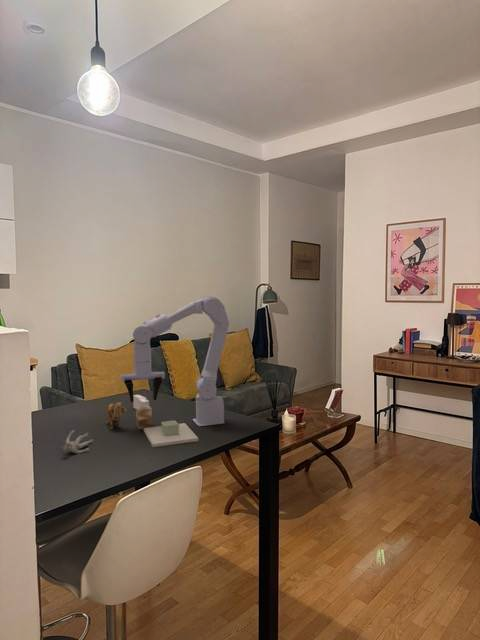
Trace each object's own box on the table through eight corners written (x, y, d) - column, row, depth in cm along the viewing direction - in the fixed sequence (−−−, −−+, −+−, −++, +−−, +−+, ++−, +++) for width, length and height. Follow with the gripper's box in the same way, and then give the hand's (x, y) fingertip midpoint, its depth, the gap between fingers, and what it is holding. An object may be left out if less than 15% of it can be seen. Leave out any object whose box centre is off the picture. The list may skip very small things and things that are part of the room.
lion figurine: (128, 429, 153) (128, 402, 152) (113, 432, 150) (112, 405, 149) (114, 418, 165) (113, 394, 164) (99, 421, 162) (98, 396, 162)
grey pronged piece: (99, 447, 139) (83, 449, 127) (87, 458, 139) (70, 461, 127) (84, 428, 141) (67, 428, 129) (72, 439, 140) (53, 440, 129)
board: (184, 426, 156) (184, 414, 155) (198, 441, 141) (198, 427, 141) (143, 431, 151) (143, 418, 150) (153, 447, 136) (152, 433, 135)
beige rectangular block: (130, 406, 182) (130, 392, 182) (158, 406, 182) (158, 392, 181) (120, 418, 167) (119, 402, 167) (150, 418, 167) (150, 402, 166)
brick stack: (149, 423, 159) (149, 405, 158) (152, 427, 154) (151, 409, 154) (136, 425, 157) (135, 407, 156) (138, 429, 153) (138, 410, 152)
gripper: (161, 357, 160) (162, 395, 161) (119, 360, 155) (120, 399, 156) (165, 361, 154) (166, 400, 155) (121, 364, 148) (122, 404, 149)
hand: (143, 400), depth 155 cm, fingers open, 7 cm apart
